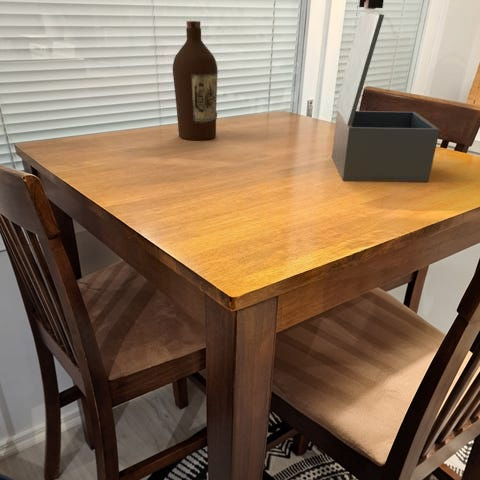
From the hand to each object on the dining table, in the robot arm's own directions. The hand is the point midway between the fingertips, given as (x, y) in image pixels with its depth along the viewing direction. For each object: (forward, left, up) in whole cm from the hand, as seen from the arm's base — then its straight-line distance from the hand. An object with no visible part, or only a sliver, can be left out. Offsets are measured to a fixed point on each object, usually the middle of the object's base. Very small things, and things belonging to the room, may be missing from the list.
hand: (370, 7), depth 97 cm
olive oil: (+36, -15, -28) cm, 49 cm away
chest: (-4, +11, -28) cm, 30 cm away
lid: (+3, +11, -9) cm, 15 cm away
